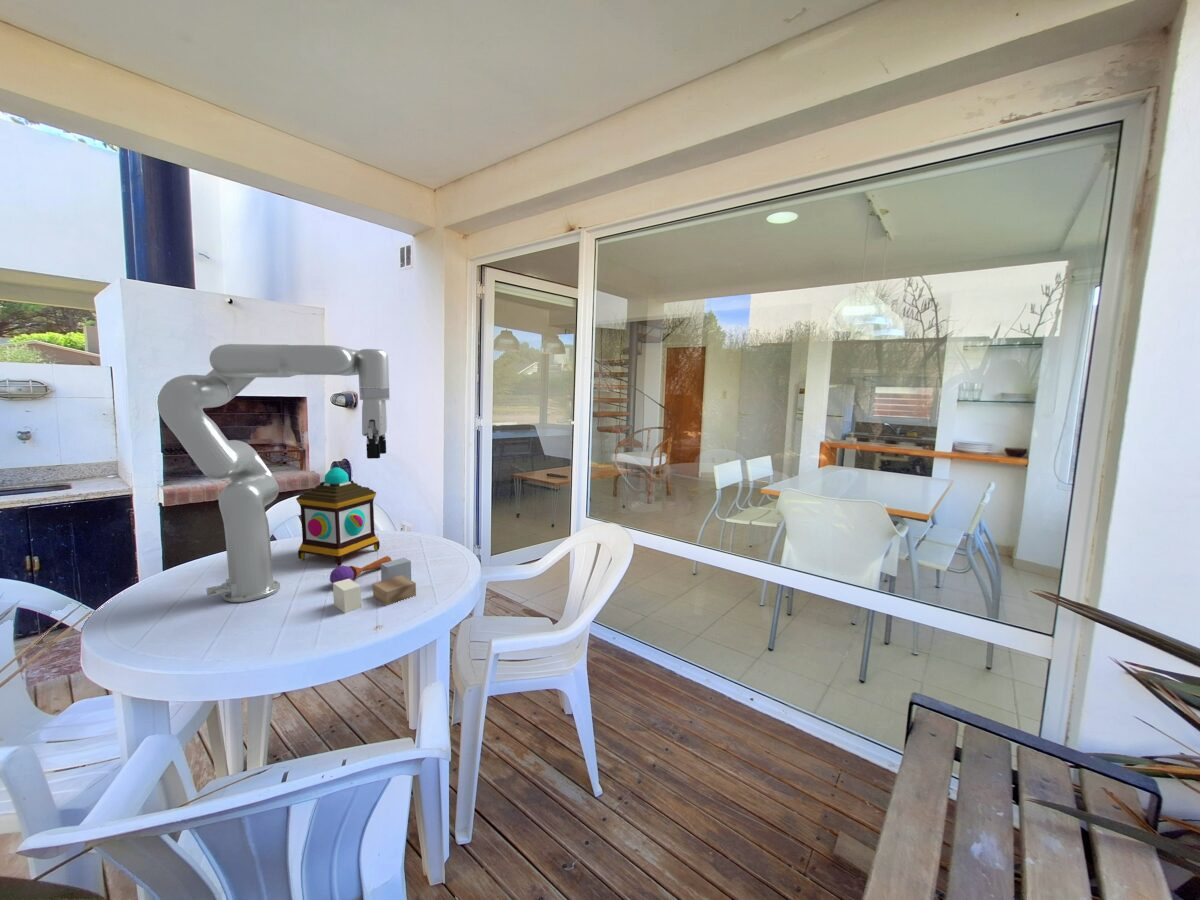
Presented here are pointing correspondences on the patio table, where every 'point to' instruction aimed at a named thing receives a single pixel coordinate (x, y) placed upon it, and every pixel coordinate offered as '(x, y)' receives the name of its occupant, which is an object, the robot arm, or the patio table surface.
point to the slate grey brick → (396, 569)
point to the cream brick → (347, 595)
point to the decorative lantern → (337, 517)
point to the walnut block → (394, 589)
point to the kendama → (354, 570)
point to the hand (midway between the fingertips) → (377, 455)
